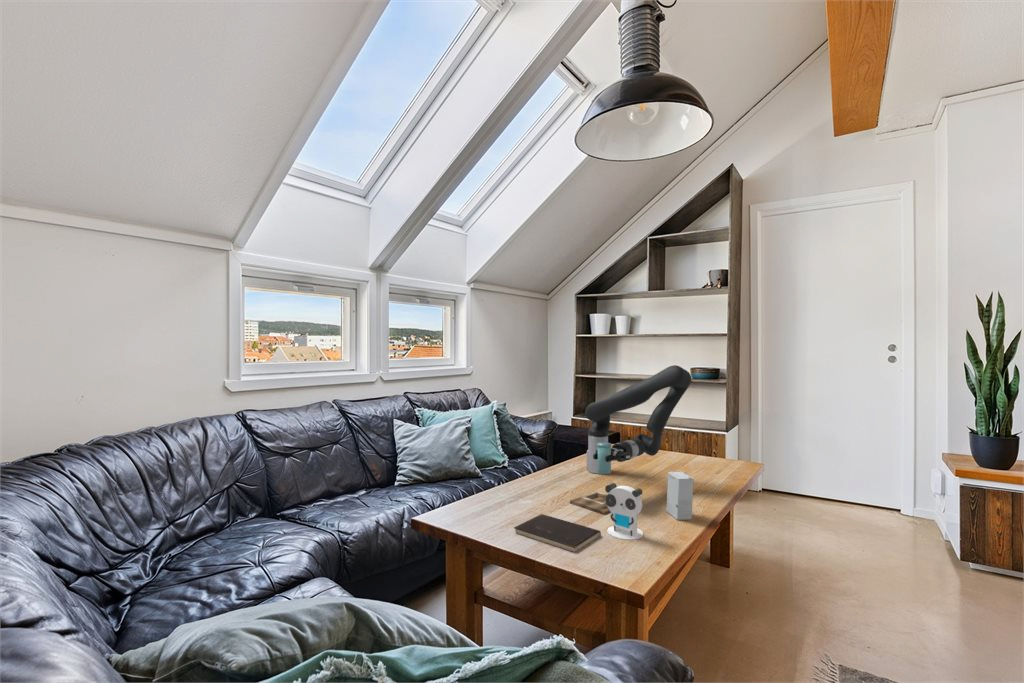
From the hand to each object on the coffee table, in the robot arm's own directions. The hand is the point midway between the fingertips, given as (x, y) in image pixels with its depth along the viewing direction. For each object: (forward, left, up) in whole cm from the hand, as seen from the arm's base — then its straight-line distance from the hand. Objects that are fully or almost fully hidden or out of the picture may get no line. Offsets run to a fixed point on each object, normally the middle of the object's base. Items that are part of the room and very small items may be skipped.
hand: (600, 457), depth 180 cm
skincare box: (+26, +12, -18) cm, 34 cm away
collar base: (-1, +1, -18) cm, 18 cm away
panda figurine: (+21, -15, -18) cm, 31 cm away
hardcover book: (+7, -32, -19) cm, 38 cm away
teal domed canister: (0, +3, -6) cm, 7 cm away
